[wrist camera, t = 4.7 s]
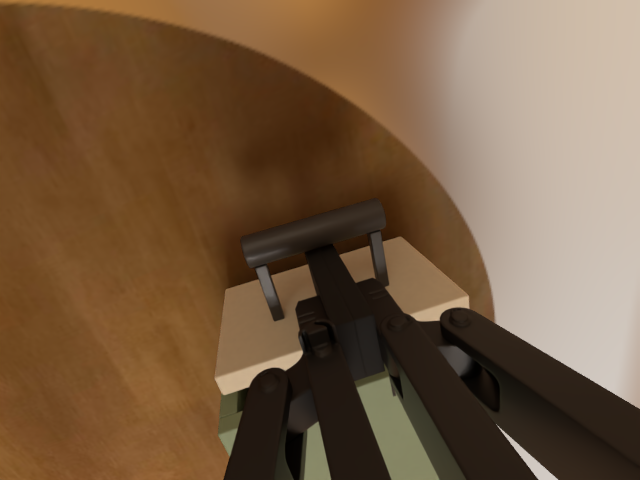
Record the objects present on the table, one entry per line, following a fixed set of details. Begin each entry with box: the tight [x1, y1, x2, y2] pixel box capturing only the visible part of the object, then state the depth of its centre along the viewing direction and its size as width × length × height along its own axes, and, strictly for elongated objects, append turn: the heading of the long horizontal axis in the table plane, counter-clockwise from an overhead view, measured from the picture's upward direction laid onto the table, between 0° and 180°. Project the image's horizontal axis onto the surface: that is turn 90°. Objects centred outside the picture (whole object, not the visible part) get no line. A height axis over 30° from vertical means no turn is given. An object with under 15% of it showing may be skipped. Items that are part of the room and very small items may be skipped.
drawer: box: [215, 198, 469, 395], centre depth 21 cm, size 20×13×8 cm, turn 13°
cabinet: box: [218, 364, 439, 480], centre depth 23 cm, size 16×14×10 cm
